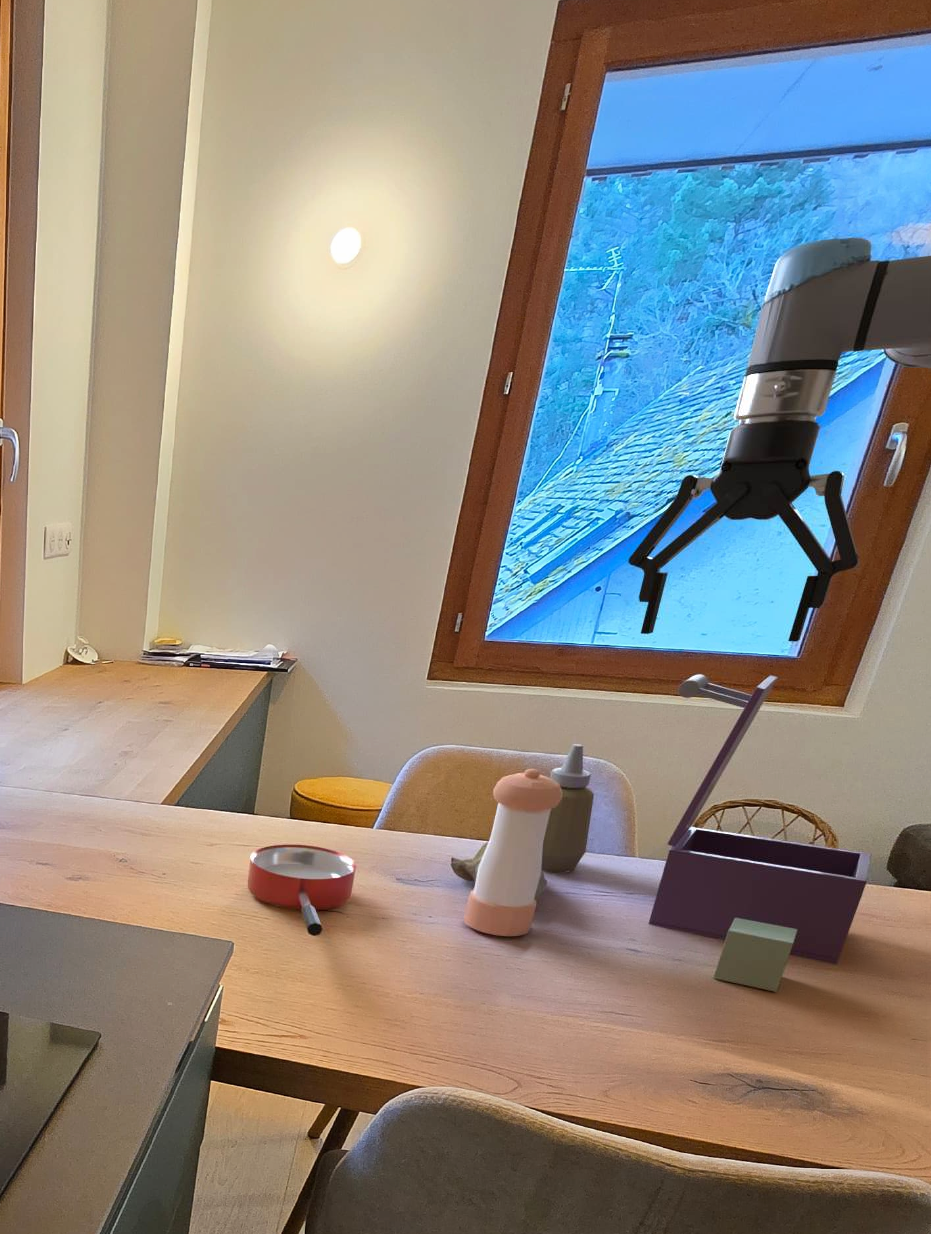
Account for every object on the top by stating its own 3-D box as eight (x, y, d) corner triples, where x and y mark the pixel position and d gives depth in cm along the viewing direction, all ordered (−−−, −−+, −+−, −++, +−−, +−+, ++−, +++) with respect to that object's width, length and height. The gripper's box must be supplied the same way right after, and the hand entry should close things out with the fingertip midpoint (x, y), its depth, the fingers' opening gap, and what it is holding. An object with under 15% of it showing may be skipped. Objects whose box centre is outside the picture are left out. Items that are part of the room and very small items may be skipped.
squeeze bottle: (581, 868, 148) (614, 742, 140) (576, 886, 142) (611, 755, 134) (517, 858, 152) (547, 735, 144) (510, 875, 146) (540, 747, 138)
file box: (842, 934, 125) (872, 853, 121) (835, 967, 115) (866, 881, 112) (666, 901, 136) (688, 826, 132) (646, 929, 126) (669, 849, 122)
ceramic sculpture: (482, 846, 128) (454, 816, 142) (468, 912, 131) (442, 878, 145) (577, 851, 126) (539, 821, 139) (561, 919, 129) (525, 883, 143)
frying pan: (393, 981, 114) (404, 927, 111) (270, 974, 116) (277, 921, 113) (340, 876, 142) (348, 832, 139) (242, 872, 144) (247, 828, 141)
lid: (777, 677, 122) (704, 657, 126) (764, 689, 113) (685, 667, 117) (693, 824, 132) (627, 801, 136) (674, 847, 122) (603, 821, 126)
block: (781, 976, 113) (797, 929, 111) (776, 992, 109) (793, 943, 107) (720, 963, 116) (735, 917, 114) (713, 978, 112) (728, 930, 110)
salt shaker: (505, 941, 123) (543, 781, 114) (450, 920, 128) (483, 767, 120) (543, 928, 126) (583, 772, 117) (488, 908, 131) (522, 758, 123)
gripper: (629, 426, 113) (583, 632, 121) (936, 410, 98) (859, 646, 106) (644, 431, 118) (598, 628, 126) (937, 416, 103) (864, 641, 111)
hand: (717, 637), depth 116 cm, fingers open, 13 cm apart
